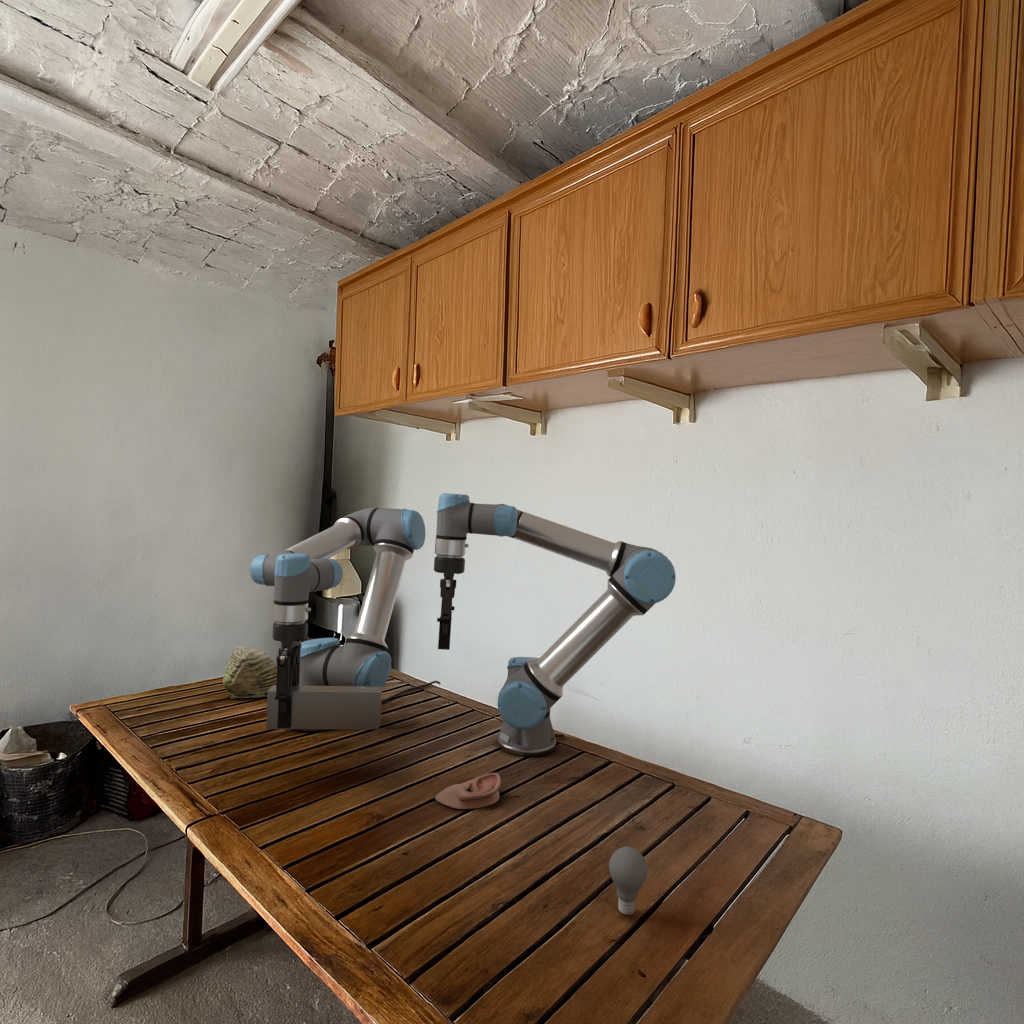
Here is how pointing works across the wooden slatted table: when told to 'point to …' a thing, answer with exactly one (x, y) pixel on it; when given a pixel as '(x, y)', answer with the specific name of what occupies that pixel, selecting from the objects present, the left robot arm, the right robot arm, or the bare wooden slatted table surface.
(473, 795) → the anatomical model
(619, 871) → the light bulb
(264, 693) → the fossil
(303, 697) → the bar
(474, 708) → the wooden slatted table surface
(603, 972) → the wooden slatted table surface
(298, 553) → the left robot arm
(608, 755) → the wooden slatted table surface
